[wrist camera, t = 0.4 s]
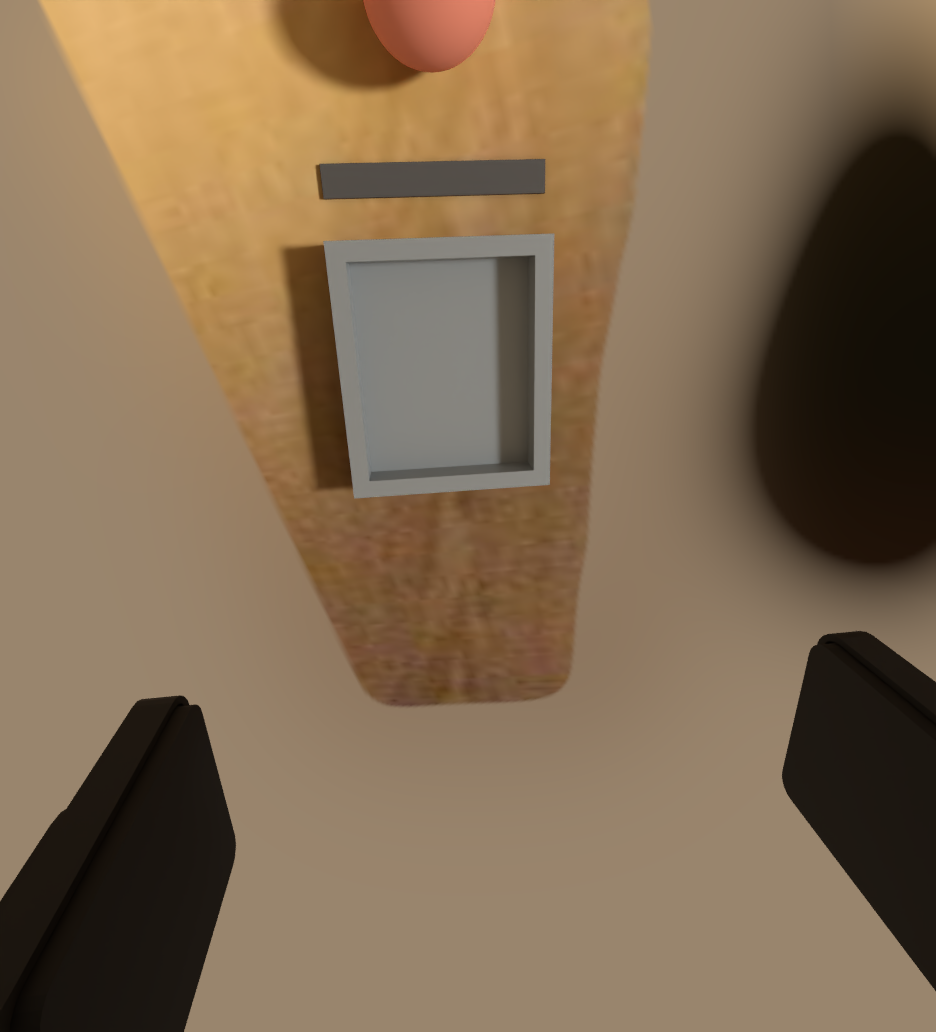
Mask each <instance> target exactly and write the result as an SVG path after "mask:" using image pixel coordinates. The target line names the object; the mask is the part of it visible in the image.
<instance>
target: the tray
mask: <svg viewBox="0 0 936 1032" xmlns="http://www.w3.org/2000/svg"><path fill="white" fill-rule="evenodd" d="M324 250H325V258H326V266H327V275H328V283H329V291H330V300H331V308H332V317H333V325H334V333H335V342H336V350H337V358H338V367H339V375H340V383H341V392H342V400H343V408H344V417H345V425H346V433H347V442H348V450H349V458H350V467H351V475H352V484H353V492H354V498H366V497H380V496H395V495H409V494H423V493H438V492H452V491H466V490H480V489H495V488H509V487H523V486H538V485H550V435H551V381H552V327H553V272H554V234H529V235H498V236H468V237H437V238H407V239H376V240H345V241H324Z"/></svg>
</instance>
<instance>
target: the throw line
mask: <svg viewBox="0 0 936 1032" xmlns="http://www.w3.org/2000/svg"><path fill="white" fill-rule="evenodd" d="M320 172H321V180H322V189H323V197H324V199H353V198H391V197H428V196H466V195H503V194H541V193H545V159H526V160H480V161H433V162H387V163H340V164H320Z"/></svg>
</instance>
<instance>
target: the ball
mask: <svg viewBox="0 0 936 1032" xmlns="http://www.w3.org/2000/svg"><path fill="white" fill-rule="evenodd" d="M363 2H364V6H365V10H366V13H367V16H368V19H369V22H370V24H371V26H372V28H373V30H374V32H375V34H376V36H377V37H378V39H379V40H380V42H381V43H382V44H383V46H384V47H385V48H386V49H387V51H388V52H389V53H390V54H391V55H392V56H393V57H394V58H396V59H397V60H398V61H400V62H401V63H403V64H404V65H406V66H408V67H410V68H413V69H415V70H419V71H423V72H441V71H445V70H448V69H451V68H453V67H455V66H457V65H458V64H460V63H462V62H463V61H464V60H465V59H467V58H468V57H469V56H470V55H471V54H472V53H473V52H474V51H475V50H476V48H477V47H478V45H479V44H480V43H481V41H482V39H483V37H484V35H485V33H486V31H487V29H488V27H489V24H490V22H491V19H492V15H493V11H494V6H495V0H363Z"/></svg>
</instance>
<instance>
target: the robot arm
mask: <svg viewBox="0 0 936 1032" xmlns="http://www.w3.org/2000/svg"><path fill="white" fill-rule="evenodd" d="M782 779H783V784H784V788H785V790H786V792H787V794H788V796H789V797H790V799H791V800H792V801H793V803H794V804H795V805H796V807H797V808H798V809H799V811H800V812H801V813H802V815H803V816H804V818H805V819H806V820H807V821H808V823H809V824H810V825H811V827H812V828H813V829H814V831H815V832H816V833H817V835H818V836H819V837H820V838H821V840H822V841H823V843H824V844H825V845H826V847H827V848H828V849H829V851H830V852H831V853H832V855H833V856H834V857H835V858H836V860H837V861H838V862H839V864H840V865H841V866H842V868H843V869H844V870H845V872H846V873H847V874H848V875H849V877H850V878H851V880H852V881H853V882H854V884H855V885H856V886H857V887H858V889H859V890H860V892H861V893H862V894H863V895H864V896H865V898H866V899H867V901H868V902H869V903H870V905H871V906H872V907H873V909H874V910H875V911H876V913H877V914H878V915H879V916H880V918H881V919H882V920H883V922H884V923H885V925H886V926H887V927H888V929H889V930H890V931H891V932H892V934H893V935H894V936H895V938H896V939H897V940H898V942H899V943H900V944H901V946H902V947H903V948H904V950H905V951H906V952H907V954H908V955H909V956H910V958H911V959H912V960H913V962H914V963H915V964H916V965H917V967H918V968H919V970H920V971H921V972H922V973H923V975H924V976H925V977H926V979H927V980H928V981H929V983H930V984H931V985H932V987H933V988H934V989H935V991H936V682H935V681H933V680H932V679H931V678H929V677H928V676H927V675H925V674H924V673H923V672H921V671H920V670H918V669H917V668H916V667H914V666H913V665H912V664H910V663H909V662H908V661H906V660H905V659H904V658H902V657H901V656H900V655H898V654H897V653H896V652H894V651H893V650H892V649H890V648H889V647H888V646H886V645H885V644H884V643H882V642H881V641H879V640H878V639H877V638H875V637H874V636H873V635H871V634H869V633H867V632H862V631H856V632H846V633H836V634H827V635H824V636H822V637H821V638H820V639H819V641H818V644H817V645H815V646H813V647H812V648H811V650H810V653H809V657H808V661H807V666H806V670H805V675H804V679H803V683H802V688H801V692H800V697H799V701H798V705H797V710H796V714H795V718H794V723H793V727H792V731H791V736H790V740H789V745H788V749H787V754H786V758H785V762H784V767H783V772H782ZM235 848H236V842H235V834H234V830H233V826H232V823H231V819H230V815H229V812H228V808H227V804H226V800H225V797H224V793H223V789H222V785H221V781H220V778H219V774H218V770H217V766H216V763H215V759H214V755H213V751H212V748H211V744H210V740H209V736H208V733H207V729H206V725H205V722H204V718H203V714H202V711H201V708H200V707H199V706H198V705H189V703H188V700H187V699H186V698H185V697H184V696H171V697H161V698H151V699H141V700H139V701H137V702H136V703H135V705H134V706H133V707H132V708H131V710H130V712H129V713H128V715H127V716H126V718H125V720H124V721H123V722H122V724H121V726H120V727H119V729H118V730H117V732H116V733H115V735H114V736H113V738H112V739H111V741H110V742H109V744H108V746H107V747H106V749H105V750H104V752H103V753H102V755H101V756H100V758H99V760H98V761H97V762H96V764H95V766H94V767H93V769H92V770H91V772H90V773H89V775H88V776H87V778H86V780H85V781H84V783H83V784H82V786H81V787H80V789H79V790H78V792H77V794H76V795H75V796H74V798H73V800H72V801H71V803H70V804H69V806H68V807H67V809H66V810H64V811H62V812H61V813H60V814H59V815H58V817H57V818H56V819H55V820H54V821H53V823H52V824H51V825H50V827H49V828H48V830H47V831H46V833H45V834H44V836H43V837H42V839H41V840H40V842H39V843H38V845H37V846H36V848H35V849H34V851H33V853H32V854H31V856H30V857H29V859H28V860H27V862H26V863H25V865H24V866H23V868H22V869H21V871H20V872H19V874H18V875H17V877H16V879H15V880H14V881H13V883H12V884H11V886H10V887H9V889H8V890H7V892H6V894H5V895H4V896H3V898H2V900H1V901H0V1032H184V1029H185V1026H186V1023H187V1019H188V1016H189V1012H190V1009H191V1006H192V1002H193V999H194V995H195V992H196V989H197V985H198V982H199V979H200V975H201V972H202V969H203V965H204V962H205V958H206V955H207V952H208V948H209V945H210V942H211V938H212V935H213V931H214V928H215V925H216V921H217V918H218V915H219V911H220V907H221V904H222V901H223V898H224V894H225V891H226V888H227V884H228V881H229V877H230V874H231V870H232V867H233V863H234V859H235V850H236V849H235Z"/></svg>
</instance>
